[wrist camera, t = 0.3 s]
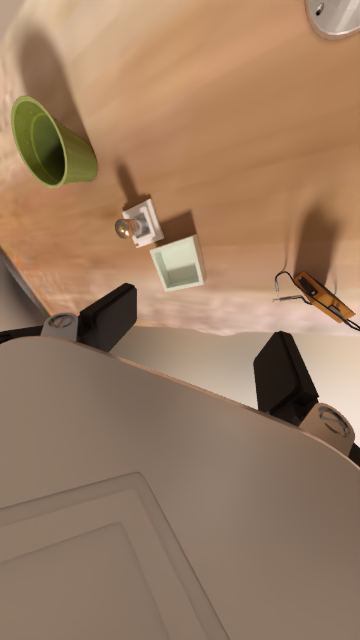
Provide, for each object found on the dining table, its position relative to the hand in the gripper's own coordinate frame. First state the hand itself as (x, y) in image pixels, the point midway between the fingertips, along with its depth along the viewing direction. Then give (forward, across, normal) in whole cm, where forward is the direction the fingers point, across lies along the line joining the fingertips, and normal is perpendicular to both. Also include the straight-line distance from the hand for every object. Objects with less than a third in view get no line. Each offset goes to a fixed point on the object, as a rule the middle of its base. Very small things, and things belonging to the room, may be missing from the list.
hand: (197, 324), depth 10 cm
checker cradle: (+36, +22, +1) cm, 43 cm away
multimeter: (+36, -22, +8) cm, 43 cm away
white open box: (+36, +10, +8) cm, 39 cm away
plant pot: (+36, +39, -10) cm, 54 cm away
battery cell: (+35, +22, +1) cm, 42 cm away
